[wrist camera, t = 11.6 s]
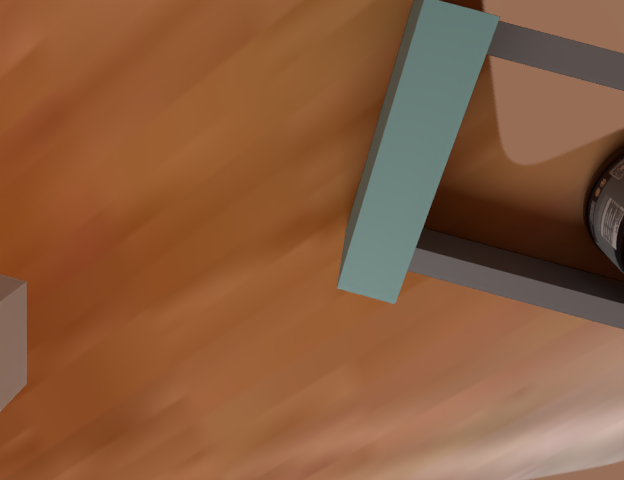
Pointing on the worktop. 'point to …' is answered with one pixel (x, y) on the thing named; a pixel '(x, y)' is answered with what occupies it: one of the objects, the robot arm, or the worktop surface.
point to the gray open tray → (433, 157)
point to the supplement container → (607, 209)
